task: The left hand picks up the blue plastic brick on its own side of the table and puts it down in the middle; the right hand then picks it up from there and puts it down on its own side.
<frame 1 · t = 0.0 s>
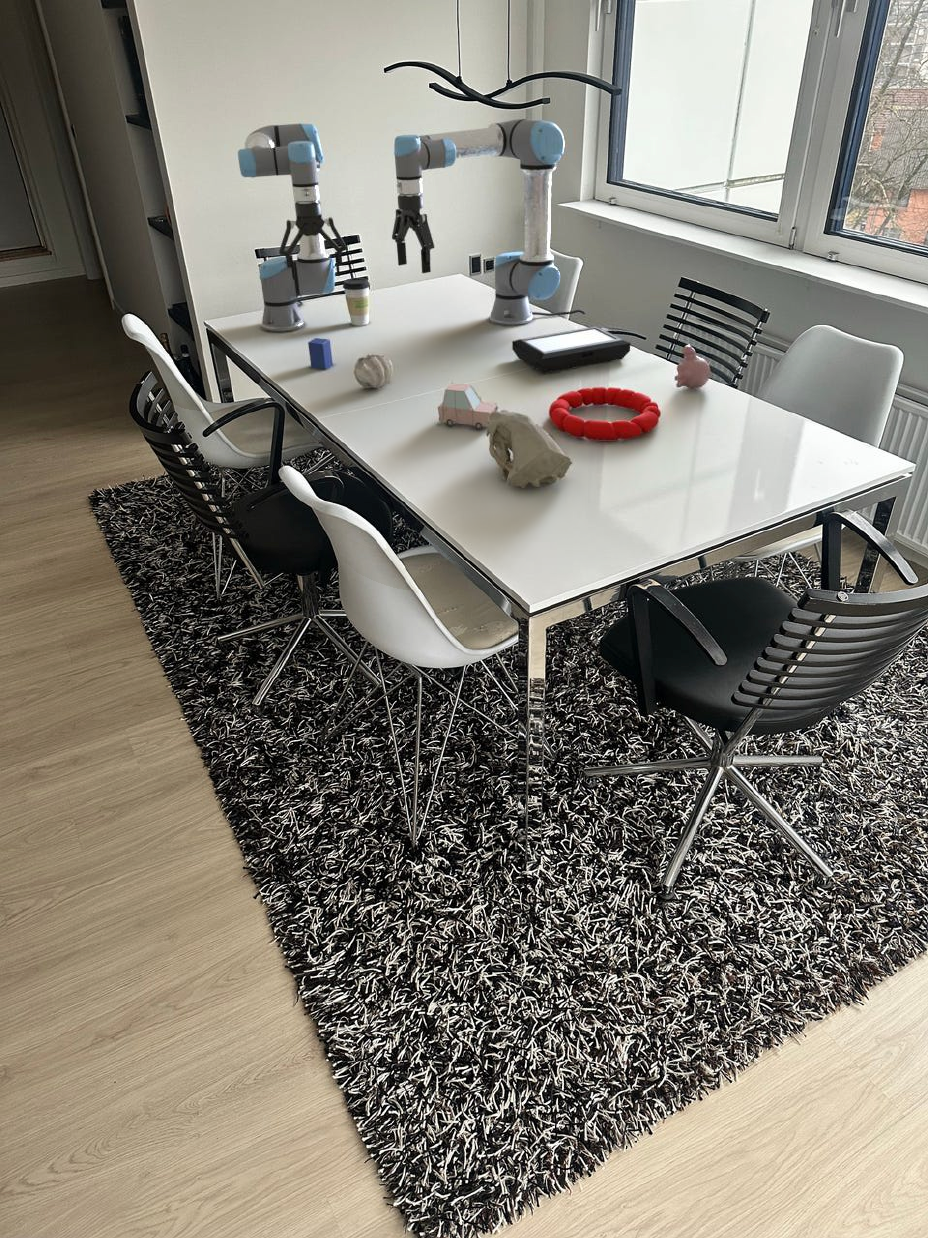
left hand: (316, 276, 273), 28 cm above the table, tool pointing down, fingers open, 13 cm apart
right hand: (414, 268, 278), 28 cm above the table, tool pointing down, fingers open, 13 cm apart
figurine: (690, 388, 263), on the table
coffee cup: (360, 323, 327), on the table
electronic device: (570, 359, 287), on the table
brick: (322, 366, 289), on the table
seashell: (375, 387, 271), on the table
toy car: (468, 423, 246), on the table
decorative ring: (603, 422, 244), on the table
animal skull: (520, 470, 220), on the table
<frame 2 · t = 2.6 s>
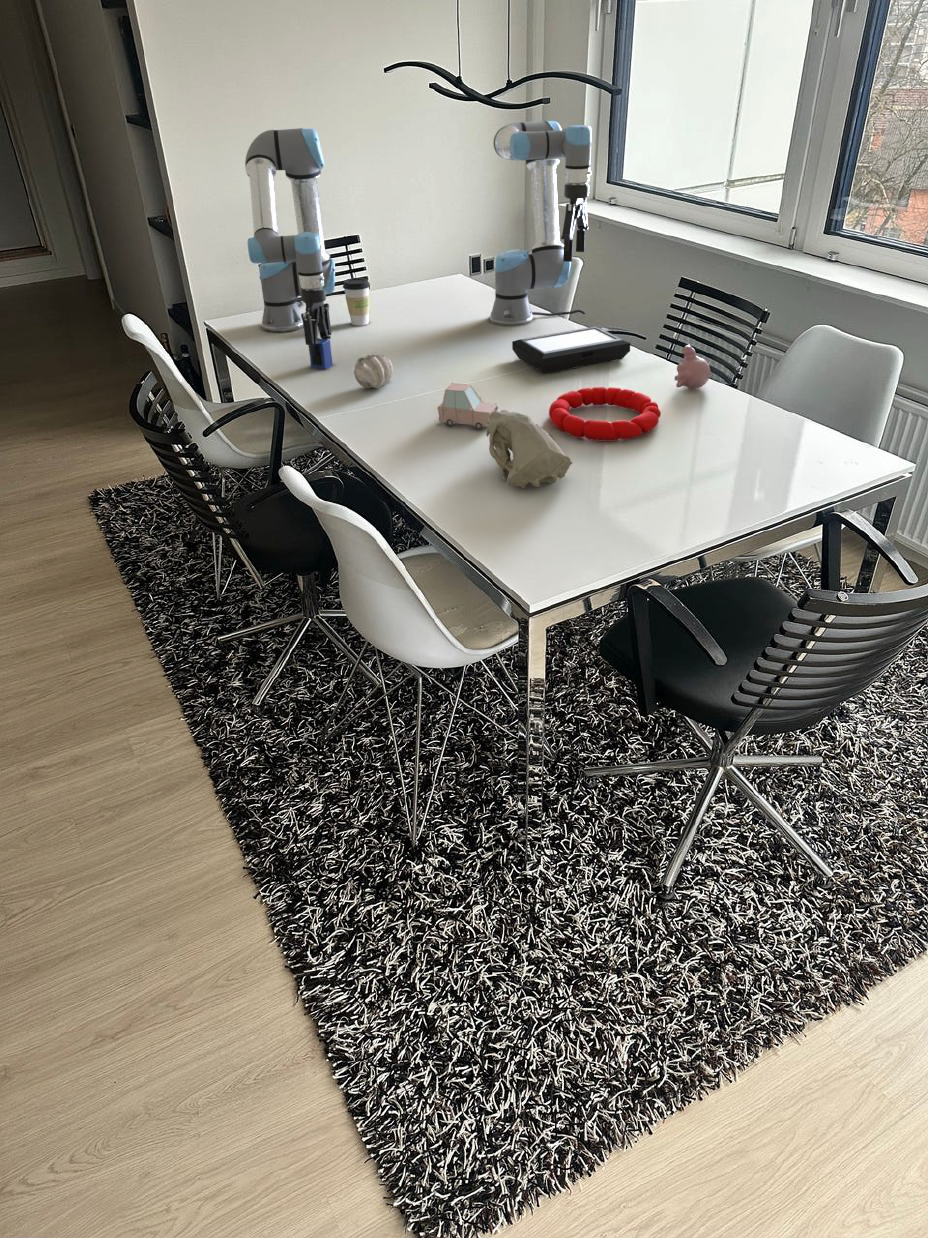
left hand: (321, 361, 288), 2 cm above the table, tool pointing down, fingers closed on brick, 5 cm apart
right hand: (574, 256, 284), 28 cm above the table, tool pointing down, fingers open, 13 cm apart
brick: (322, 366, 289), on the table, touching left hand
everything else where it was.
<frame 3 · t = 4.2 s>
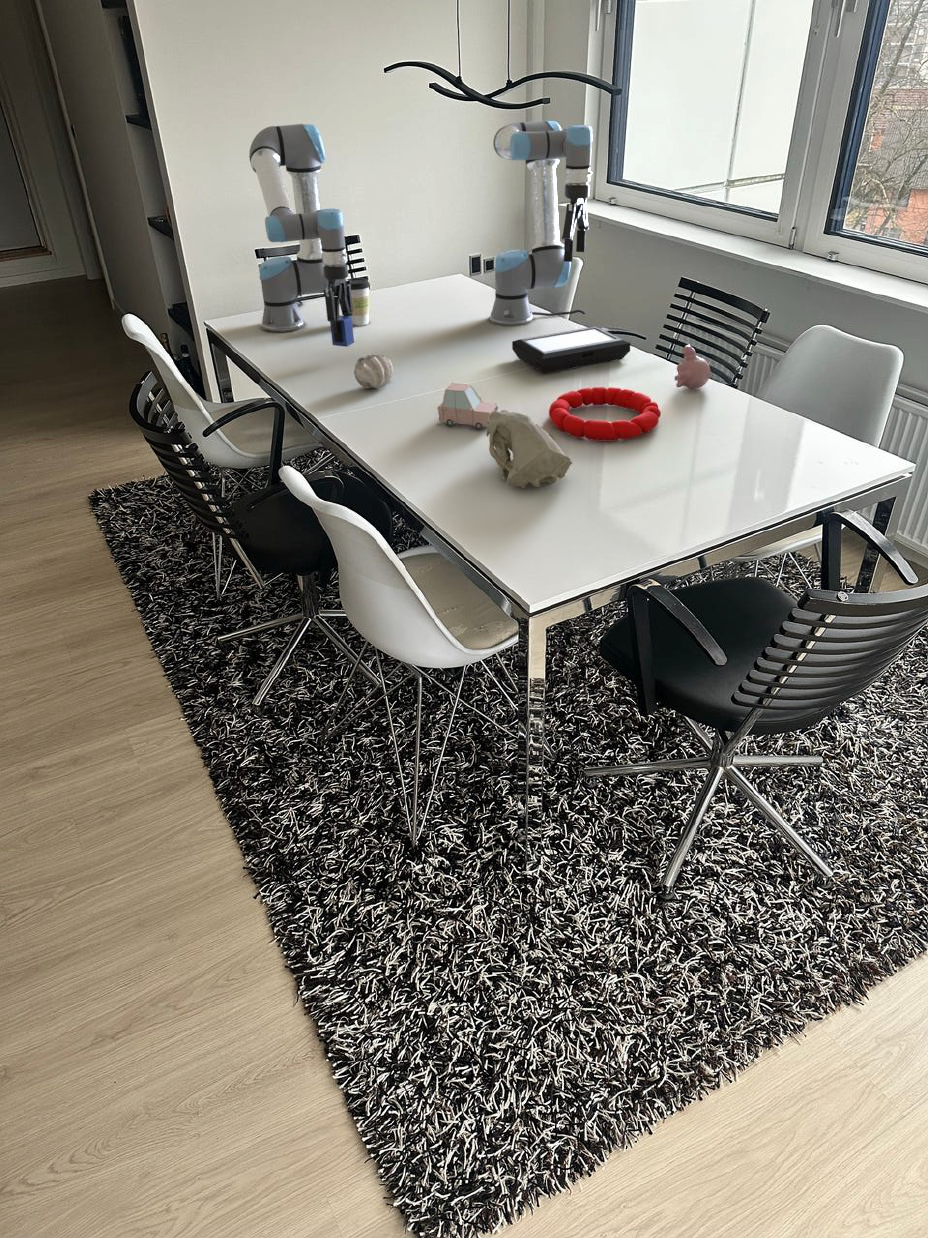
left hand: (343, 339, 289), 7 cm above the table, tool pointing down, fingers closed on brick, 5 cm apart
right hand: (574, 256, 284), 28 cm above the table, tool pointing down, fingers open, 13 cm apart
brick: (343, 343, 290), point 6 cm above the table, touching left hand
everything else where it was.
when the left hand's fingers open (3 cm above the table, at t = 5.7 s): brick drops 2 cm, on the table.
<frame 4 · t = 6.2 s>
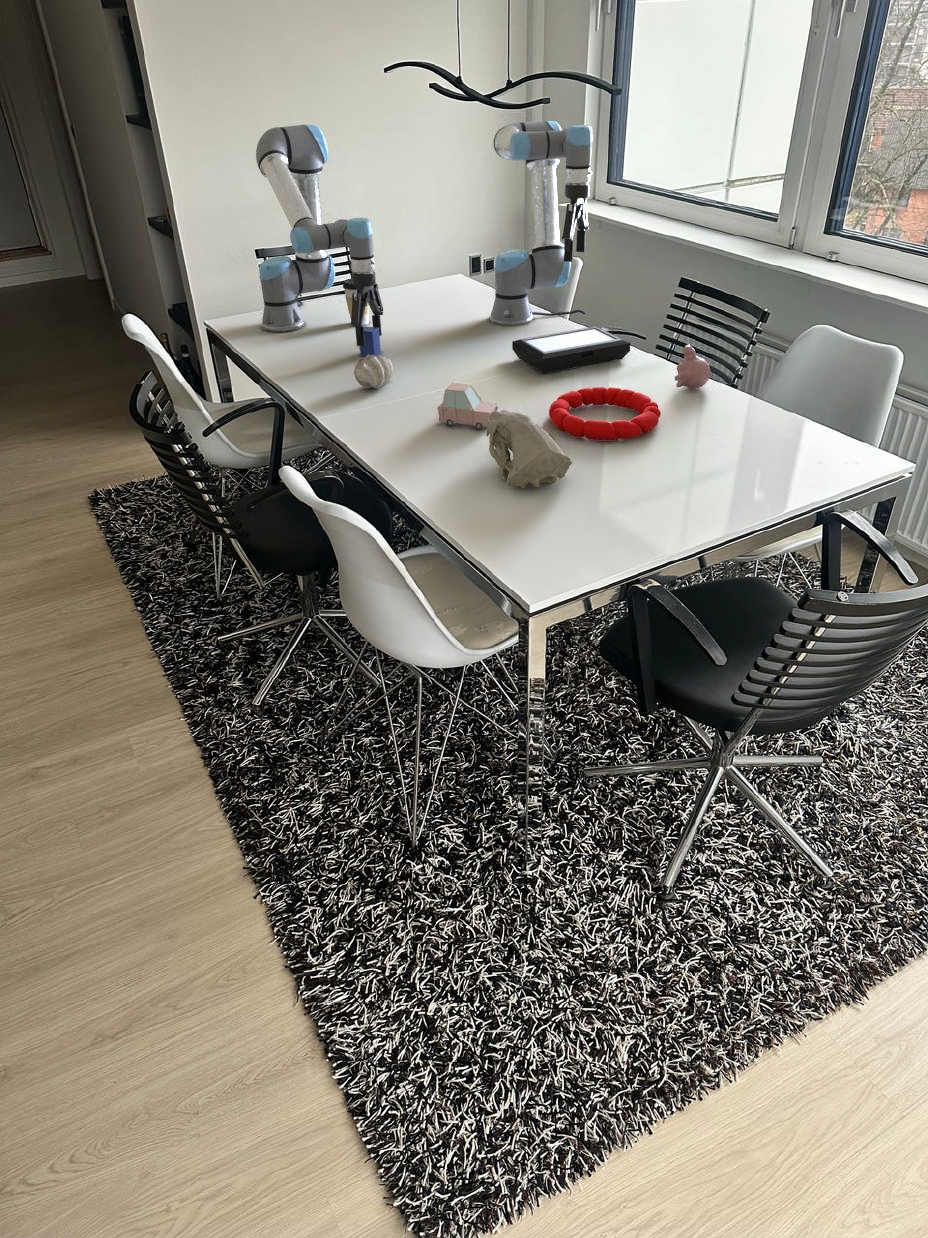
left hand: (369, 340, 295), 5 cm above the table, tool pointing down, fingers open, 11 cm apart
right hand: (574, 256, 284), 28 cm above the table, tool pointing down, fingers open, 13 cm apart
brick: (370, 354, 298), on the table
everything else where it was.
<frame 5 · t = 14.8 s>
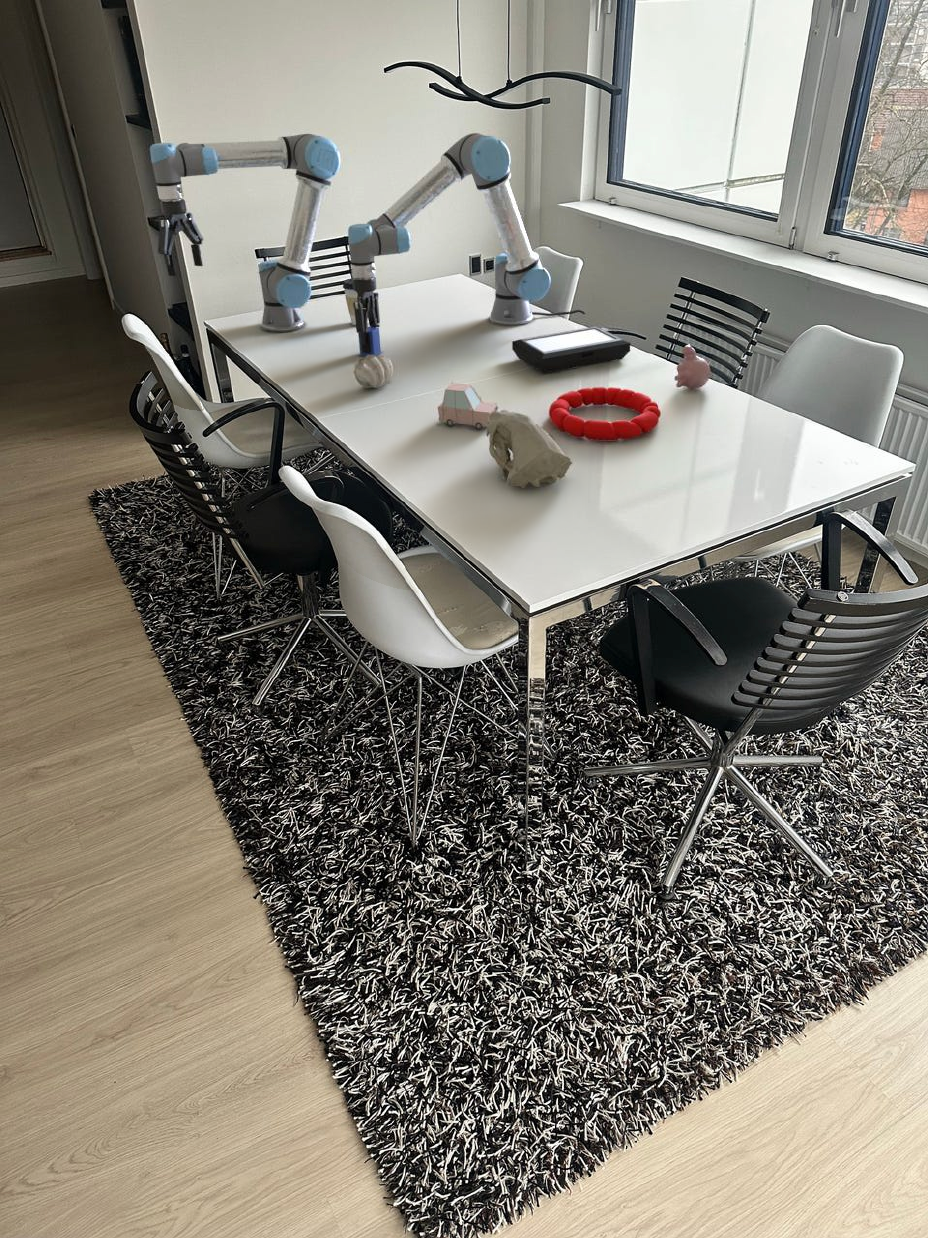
left hand: (186, 270, 289), 27 cm above the table, tool pointing down, fingers open, 13 cm apart
right hand: (370, 349, 297), 2 cm above the table, tool pointing down, fingers closed on brick, 5 cm apart
brick: (370, 354, 298), on the table, touching right hand
everything else where it was.
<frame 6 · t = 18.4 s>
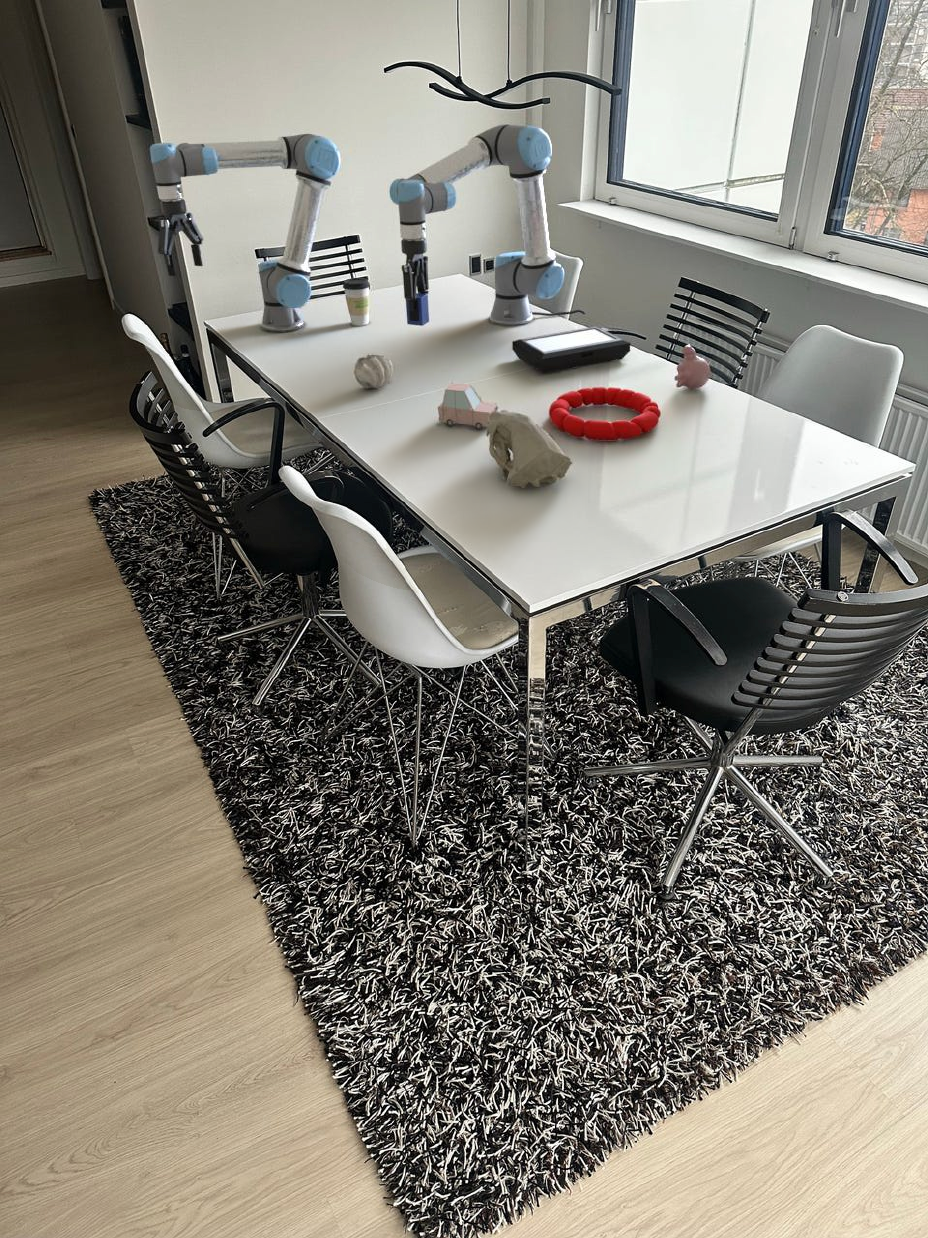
left hand: (186, 270, 289), 27 cm above the table, tool pointing down, fingers open, 13 cm apart
right hand: (418, 317, 277), 15 cm above the table, tool pointing down, fingers closed on brick, 5 cm apart
brick: (418, 322, 278), point 14 cm above the table, touching right hand
everything else where it was.
when the right hand's fingers open (3 cm above the table, at t = 21.8 s): brick drops 2 cm, on the table.
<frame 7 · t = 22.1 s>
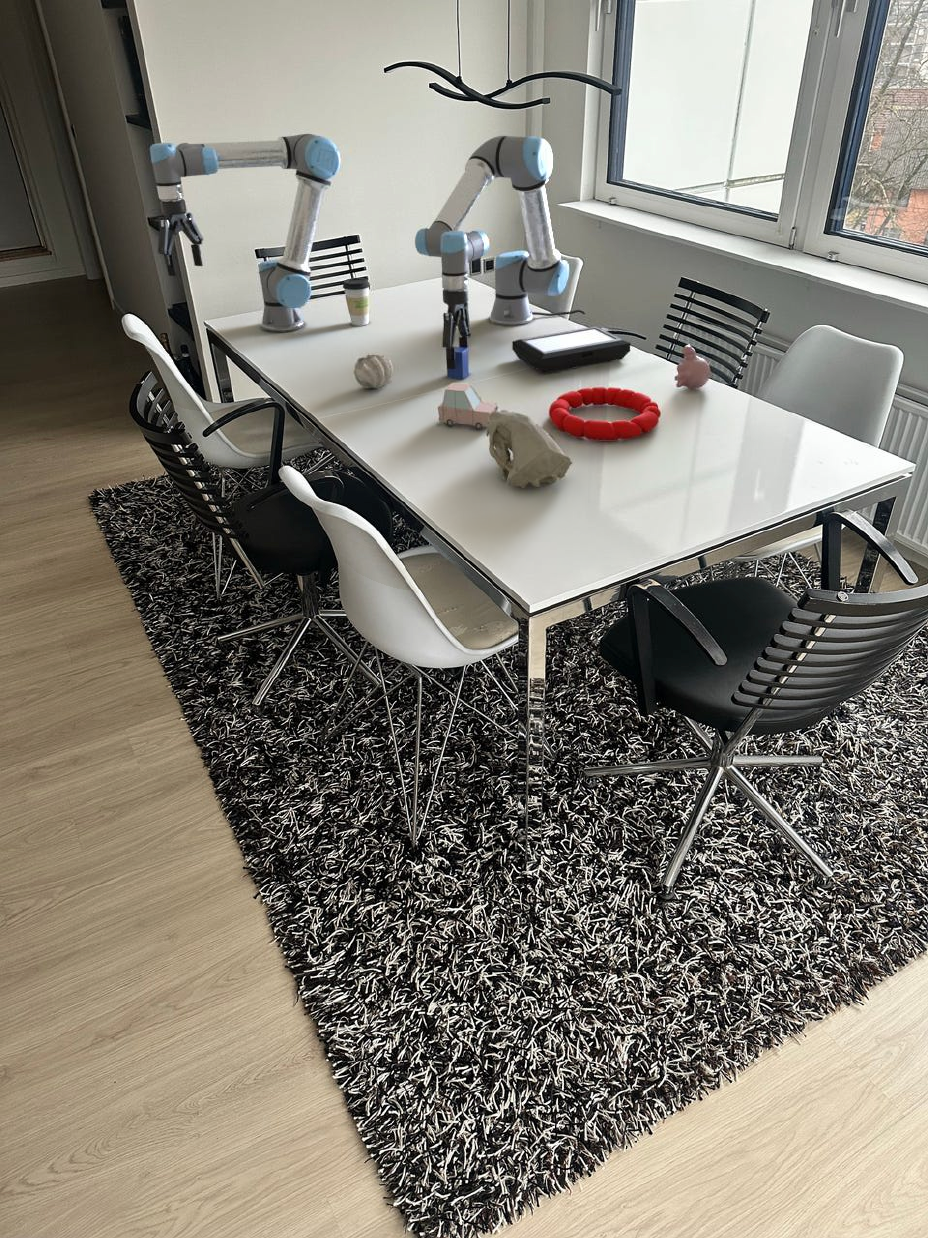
left hand: (186, 270, 289), 27 cm above the table, tool pointing down, fingers open, 13 cm apart
right hand: (457, 363, 275), 4 cm above the table, tool pointing down, fingers open, 9 cm apart
brick: (458, 376, 278), on the table
everything else where it was.
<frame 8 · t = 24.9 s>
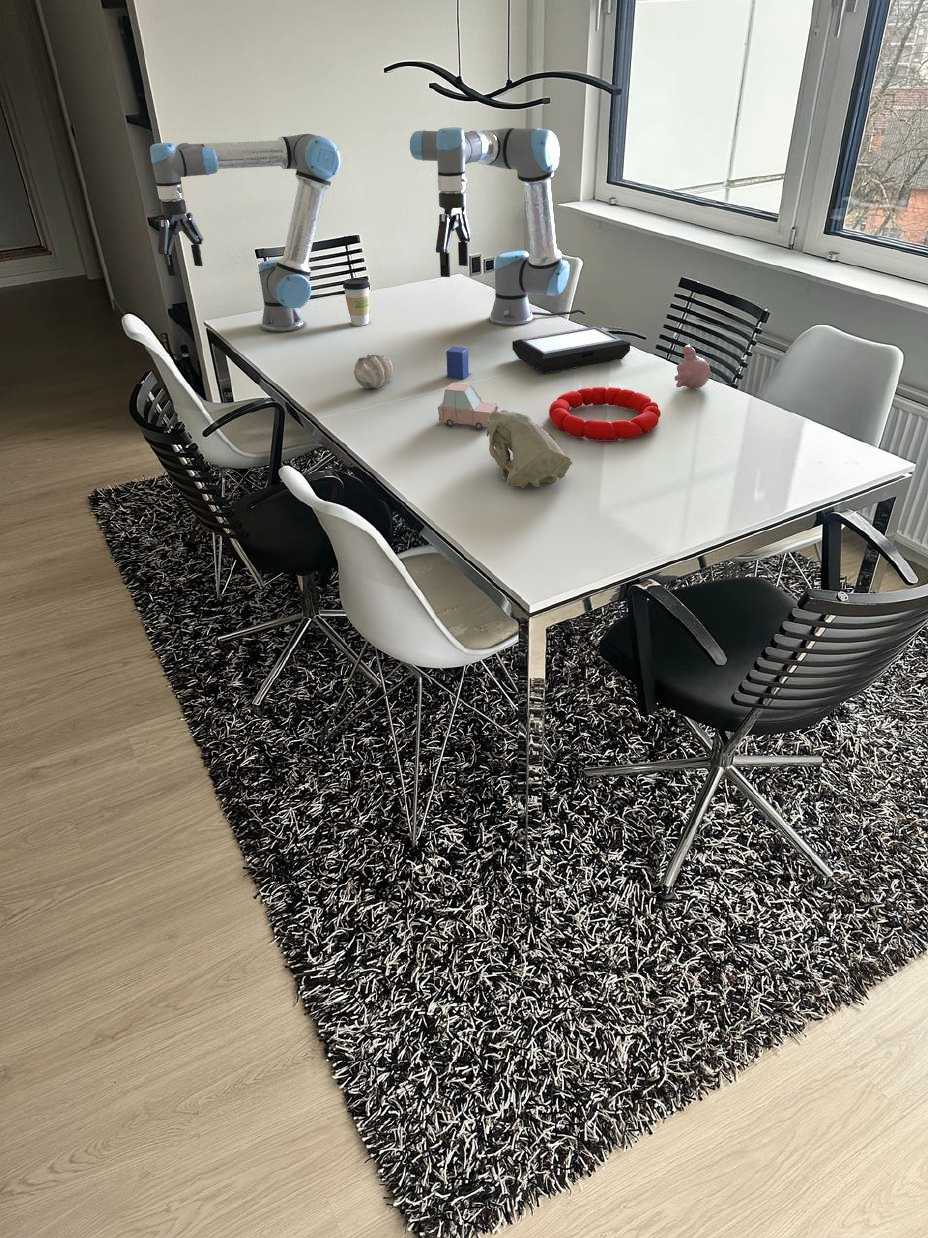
left hand: (186, 270, 289), 27 cm above the table, tool pointing down, fingers open, 13 cm apart
right hand: (454, 270, 260), 31 cm above the table, tool pointing down, fingers open, 13 cm apart
nothing on the table moved.
at the end: brick inside the target area (0.1 cm from its centre), on the table; brick tilted 0°; the two hands never held the brick at the same time; the left hand is holding nothing; the right hand is holding nothing; brick at rest at the end (0.0 cm/s) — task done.
